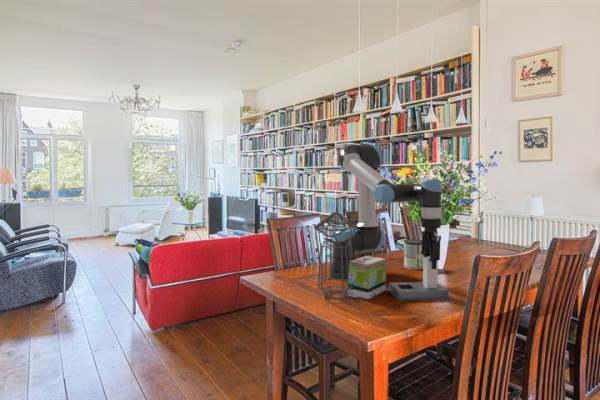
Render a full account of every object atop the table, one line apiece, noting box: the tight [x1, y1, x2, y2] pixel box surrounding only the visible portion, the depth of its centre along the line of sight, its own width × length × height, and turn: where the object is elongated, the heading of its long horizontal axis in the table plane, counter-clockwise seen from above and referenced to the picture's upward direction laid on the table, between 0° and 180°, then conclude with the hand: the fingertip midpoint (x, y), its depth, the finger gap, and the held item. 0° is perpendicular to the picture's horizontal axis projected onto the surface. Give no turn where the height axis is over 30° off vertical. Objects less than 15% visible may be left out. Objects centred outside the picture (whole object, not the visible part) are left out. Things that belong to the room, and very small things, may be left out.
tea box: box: [347, 255, 388, 300], centre depth 156 cm, size 15×10×15 cm, turn 141°
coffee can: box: [403, 238, 424, 270], centre depth 202 cm, size 10×10×14 cm
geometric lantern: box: [312, 211, 357, 300], centre depth 155 cm, size 16×16×35 cm
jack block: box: [388, 281, 450, 302], centre depth 153 cm, size 20×12×4 cm, turn 94°
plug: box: [422, 256, 439, 288], centre depth 153 cm, size 4×4×13 cm
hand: (430, 274), depth 153 cm, fingers closed on plug, 4 cm apart
